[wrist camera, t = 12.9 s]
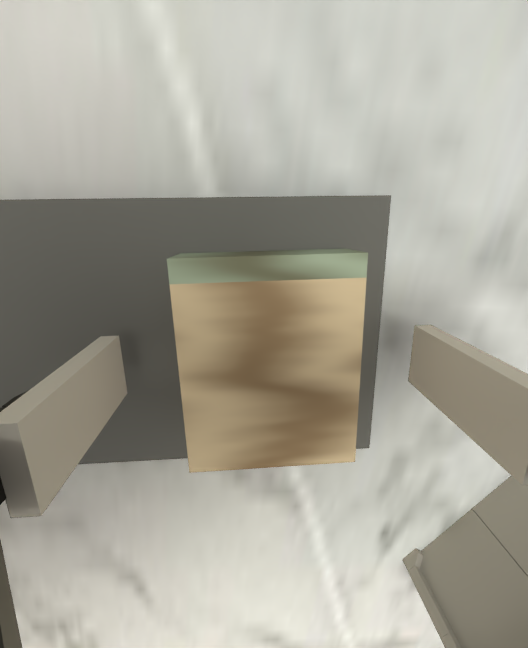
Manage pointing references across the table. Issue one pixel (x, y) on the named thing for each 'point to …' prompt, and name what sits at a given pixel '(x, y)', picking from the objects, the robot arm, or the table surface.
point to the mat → (154, 292)
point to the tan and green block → (269, 355)
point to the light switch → (479, 573)
